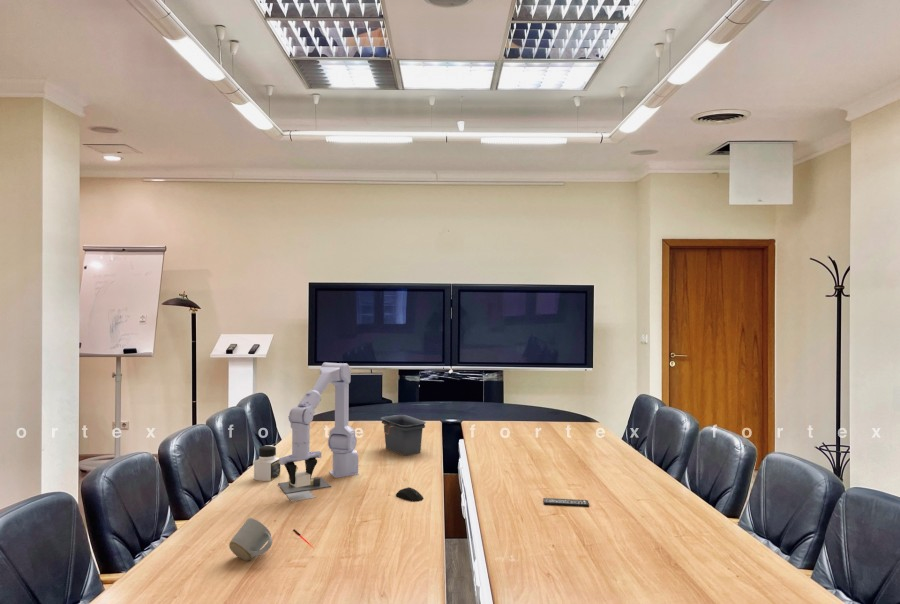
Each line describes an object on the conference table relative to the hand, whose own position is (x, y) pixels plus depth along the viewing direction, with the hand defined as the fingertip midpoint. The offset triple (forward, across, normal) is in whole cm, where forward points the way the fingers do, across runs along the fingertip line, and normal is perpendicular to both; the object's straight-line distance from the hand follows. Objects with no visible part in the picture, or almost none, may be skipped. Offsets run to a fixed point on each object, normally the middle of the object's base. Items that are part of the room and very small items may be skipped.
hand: (300, 481), depth 193 cm
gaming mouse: (+6, -28, +26) cm, 39 cm away
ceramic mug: (+6, +30, +36) cm, 47 cm away
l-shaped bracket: (+5, -2, -11) cm, 12 cm away
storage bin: (+5, -60, -27) cm, 66 cm away
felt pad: (+5, 0, 0) cm, 5 cm away
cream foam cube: (+1, 0, 0) cm, 1 cm away
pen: (+6, +15, +34) cm, 38 cm away
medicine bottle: (+5, 0, -28) cm, 28 cm away
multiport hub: (+6, -63, +63) cm, 89 cm away
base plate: (+5, -6, -9) cm, 12 cm away
